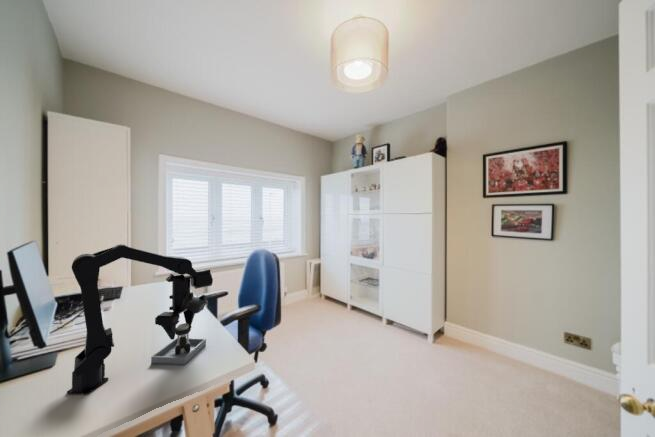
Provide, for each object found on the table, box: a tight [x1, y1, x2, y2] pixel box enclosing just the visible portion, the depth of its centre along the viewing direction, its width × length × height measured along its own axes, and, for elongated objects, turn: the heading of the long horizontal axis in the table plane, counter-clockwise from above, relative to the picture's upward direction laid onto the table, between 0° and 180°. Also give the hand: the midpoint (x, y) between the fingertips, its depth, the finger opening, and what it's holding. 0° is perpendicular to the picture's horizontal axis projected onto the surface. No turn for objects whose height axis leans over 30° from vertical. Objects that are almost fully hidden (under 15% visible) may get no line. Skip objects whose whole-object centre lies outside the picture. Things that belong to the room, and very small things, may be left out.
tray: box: [150, 337, 207, 366], centre depth 88 cm, size 13×12×2 cm
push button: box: [170, 322, 192, 355], centre depth 88 cm, size 7×5×10 cm
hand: (181, 333), depth 88 cm, fingers open, 9 cm apart
